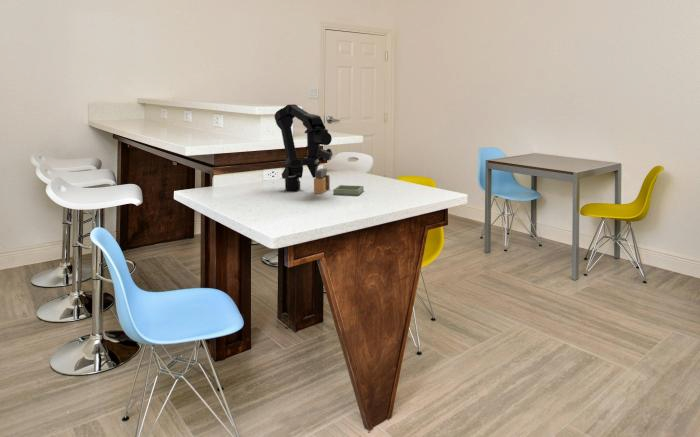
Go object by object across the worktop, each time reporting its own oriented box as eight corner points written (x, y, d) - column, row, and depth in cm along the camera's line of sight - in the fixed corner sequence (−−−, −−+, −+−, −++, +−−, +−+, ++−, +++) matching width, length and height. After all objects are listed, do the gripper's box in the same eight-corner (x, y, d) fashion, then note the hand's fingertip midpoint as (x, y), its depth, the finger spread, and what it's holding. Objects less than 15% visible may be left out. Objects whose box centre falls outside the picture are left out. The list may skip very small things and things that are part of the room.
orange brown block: (314, 193, 254) (313, 178, 252) (317, 191, 259) (316, 177, 257) (322, 193, 253) (322, 179, 251) (325, 191, 258) (325, 177, 256)
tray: (333, 194, 249) (333, 189, 249) (339, 190, 261) (339, 185, 260) (358, 195, 247) (358, 190, 246) (363, 191, 258) (363, 186, 257)
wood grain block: (319, 189, 263) (318, 175, 261) (319, 189, 264) (319, 174, 263) (328, 190, 262) (328, 175, 260) (329, 189, 263) (329, 175, 262)
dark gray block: (314, 177, 251) (314, 171, 251) (320, 174, 261) (320, 168, 260) (321, 177, 251) (320, 171, 250) (326, 174, 260) (326, 168, 260)
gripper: (325, 146, 231) (325, 181, 235) (335, 142, 249) (336, 175, 252) (300, 145, 233) (301, 180, 237) (313, 141, 251) (313, 174, 255)
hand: (314, 177), depth 245 cm, fingers closed
